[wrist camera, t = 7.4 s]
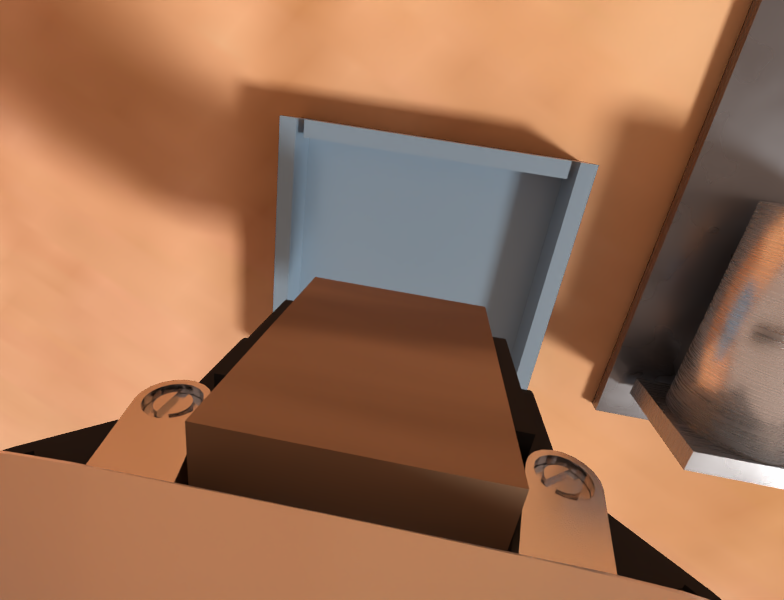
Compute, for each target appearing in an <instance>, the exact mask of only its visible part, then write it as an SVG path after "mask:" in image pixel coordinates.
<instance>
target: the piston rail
mask: <svg viewBox="0 0 784 600" xmlns="http://www.w3.org/2000/svg"><path fill="white" fill-rule="evenodd" d="M759 201H764V202H772V203H779V204H784V0H753V2H752V5H751V7H750V10H749V12H748V15H747V17H746V20H745V22H744V25H743V27H742V30H741V32H740V35H739V37H738V40H737V42H736V45H735V47H734V50H733V52H732V55H731V57H730V60H729V62H728V65H727V67H726V70H725V72H724V75H723V77H722V80H721V82H720V85H719V87H718V90H717V92H716V95H715V97H714V100H713V102H712V105H711V107H710V110H709V112H708V115H707V117H706V120H705V122H704V125H703V127H702V130H701V132H700V135H699V137H698V140H697V142H696V145H695V147H694V150H693V153H692V155H691V158H690V160H689V163H688V165H687V168H686V170H685V173H684V175H683V178H682V180H681V183H680V185H679V188H678V190H677V193H676V195H675V198H674V200H673V203H672V205H671V208H670V210H669V213H668V215H667V218H666V220H665V223H664V225H663V228H662V230H661V233H660V235H659V238H658V240H657V243H656V245H655V248H654V250H653V253H652V255H651V258H650V260H649V263H648V265H647V268H646V270H645V273H644V275H643V278H642V280H641V283H640V285H639V288H638V290H637V293H636V295H635V298H634V300H633V303H632V305H631V308H630V310H629V313H628V315H627V318H626V320H625V323H624V325H623V328H622V330H621V333H620V335H619V338H618V340H617V343H616V345H615V348H614V350H613V353H612V355H611V358H610V360H609V363H608V365H607V368H606V370H605V373H604V375H603V378H602V380H601V383H600V385H599V388H598V390H597V393H596V395H595V398H594V400H593V403H592V404H593V406H594V408H595V410H599V411H604V412H609V413H615V414H620V415H625V416H630V417H636V418H641V419H646V420H648V418H647V417H646V415H645V414H644V412H643V411H642V410H641V408H640V407H639V405H638V404H637V402H636V401H635V400H634V398H633V397H632V395H631V394H630V391H631V389H632V387H633V384H634V382H635V380H636V378H640V379H645V380H651V381H656V382H662V383H667V384H672V383H673V380H674V378H675V376H676V374H677V372H678V370H679V368H680V366H681V364H682V362H683V360H684V357H685V355H686V353H687V351H688V349H689V347H690V345H691V343H692V341H693V339H694V337H695V334H696V332H697V330H698V328H699V326H700V324H701V322H702V320H703V318H704V316H705V314H706V311H707V309H708V307H709V305H710V303H711V301H712V299H713V297H714V295H715V293H716V291H717V288H718V286H719V284H720V282H721V280H722V278H723V276H724V274H725V272H726V270H727V268H728V265H729V263H730V261H731V259H732V257H733V255H734V253H735V251H736V249H737V247H738V245H739V242H740V240H741V238H742V236H743V234H744V232H745V230H746V228H747V226H748V224H749V222H750V219H751V217H752V215H753V213H754V211H755V209H756V207H757V205H758V203H759Z"/></svg>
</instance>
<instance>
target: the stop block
mask: <svg viewBox="0 0 784 600" xmlns="http://www.w3.org/2000/svg"><path fill="white" fill-rule="evenodd" d="M185 433H186V450H187V468H188V485H189V486H194V487H199V488H204V489H209V490H214V491H219V492H224V493H229V494H234V495H239V496H244V497H248V498H253V499H258V500H263V501H268V502H273V503H278V504H283V505H288V506H292V507H297V508H302V509H307V510H312V511H317V512H322V513H327V514H331V515H336V516H341V517H346V518H351V519H356V520H360V521H365V522H370V523H375V524H380V525H385V526H389V527H394V528H399V529H404V530H409V531H413V532H418V533H423V534H428V535H433V536H437V537H442V538H447V539H452V540H457V541H461V542H466V543H471V544H476V545H480V546H485V547H490V548H494V549H499V550H504V551H507V550H508V547H509V545H510V542H511V539H512V536H513V533H514V531H515V528H516V525H517V522H518V520H519V517H520V514H521V511H522V508H523V506H524V503H525V500H526V497H527V495H528V492H529V486H528V482H527V478H526V474H525V469H524V465H523V461H522V457H521V453H520V449H519V445H518V440H517V436H516V432H515V428H514V424H513V420H512V416H511V411H510V407H509V403H508V399H507V395H506V391H505V387H504V383H503V378H502V374H501V370H500V366H499V362H498V358H497V354H496V349H495V345H494V341H493V337H492V333H491V329H490V325H489V321H488V316H487V312H486V308H485V307H484V306H478V305H472V304H467V303H461V302H455V301H450V300H444V299H438V298H433V297H427V296H421V295H416V294H410V293H404V292H399V291H393V290H387V289H382V288H376V287H370V286H365V285H359V284H353V283H348V282H342V281H336V280H331V279H325V278H319V277H315V278H314V279H313V280H312V281H311V282H310V283H309V284H308V285H307V287H306V288H305V289H304V290H303V291H302V292H301V293H300V294H299V295H298V296H297V298H296V299H295V300H294V301H293V302H292V303H291V304H290V305H289V306H288V308H287V309H286V310H285V311H284V312H283V313H282V314H281V315H280V316H279V317H278V319H277V320H276V321H275V322H274V323H273V324H272V325H271V326H270V327H269V329H268V330H267V331H266V332H265V333H264V334H263V335H262V336H261V337H260V338H259V340H258V341H257V342H256V343H255V344H254V345H253V346H252V347H251V348H250V350H249V351H248V352H247V353H246V354H245V355H244V356H243V357H242V358H241V359H240V361H239V362H238V363H237V364H236V365H235V366H234V367H233V368H232V369H231V371H230V372H229V373H228V374H227V375H226V376H225V377H224V378H223V379H222V380H221V382H220V383H219V384H218V385H217V386H216V387H215V388H214V389H213V390H212V392H211V393H210V394H209V395H208V396H207V397H206V398H205V399H204V400H203V401H202V403H201V404H200V405H199V406H198V407H197V408H196V409H195V410H194V411H193V413H192V414H191V415H190V416H189V417H188V418H187V419H186V420H185Z"/></svg>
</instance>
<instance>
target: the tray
mask: <svg viewBox="0 0 784 600" xmlns="http://www.w3.org/2000/svg"><path fill="white" fill-rule="evenodd" d="M598 166H599V165H595V164H591V163H586V162H581V161H576V160H569V159H563V158H556V157H550V156H543V155H537V154H531V153H524V152H518V151H511V150H505V149H499V148H492V147H486V146H479V145H473V144H467V143H460V142H454V141H447V140H441V139H435V138H428V137H422V136H415V135H409V134H403V133H396V132H390V131H383V130H377V129H371V128H364V127H358V126H351V125H345V124H339V123H332V122H326V121H319V120H313V119H307V118H300V117H291V116H281V115H280V124H279V152H278V180H277V209H276V237H275V266H274V294H273V312H274V311H275V310H276V309H277V308H278V307H279V306H280V305H281V304H282V303H283V302H284V301H285V300H286V299H287V300H292V301H294V300H295V299H296V298H297V296H298V295H299V294H300V293H301V292H302V291H303V290H304V289H305V288H306V287H307V285H308V284H309V283H310V282H311V281H312V280H313V279H314V278H315V277H319V278H325V279H331V280H336V281H342V282H348V283H353V284H359V285H365V286H370V287H376V288H382V289H387V290H393V291H399V292H404V293H410V294H416V295H421V296H427V297H433V298H438V299H444V300H450V301H455V302H461V303H467V304H472V305H478V306H484V307H485V308H486V312H487V316H488V321H489V325H490V329H491V333H492V337H498V338H504V339H506V341H507V344H508V348H509V351H510V354H511V357H512V360H513V364H514V367H515V370H516V373H517V377H518V380H519V383H520V386H521V389H525V390H527V388H528V385H529V382H530V379H531V375H532V372H533V369H534V366H535V363H536V360H537V357H538V354H539V350H540V347H541V344H542V341H543V338H544V335H545V332H546V329H547V326H548V322H549V319H550V316H551V313H552V310H553V307H554V304H555V301H556V297H557V294H558V291H559V288H560V285H561V282H562V279H563V276H564V272H565V269H566V266H567V263H568V260H569V257H570V254H571V251H572V248H573V244H574V241H575V238H576V235H577V232H578V229H579V226H580V223H581V219H582V216H583V213H584V210H585V207H586V204H587V201H588V198H589V194H590V191H591V188H592V185H593V182H594V179H595V176H596V173H597V170H598Z"/></svg>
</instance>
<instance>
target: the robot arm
mask: <svg viewBox="0 0 784 600" xmlns="http://www.w3.org/2000/svg"><path fill="white" fill-rule="evenodd" d="M292 302H293V301H292V300H287V299H286V300H285V301H284V302H283V303H282V304H281V305H280V306H279V307H278V308H277V309H276V310H275V311H274V312H273V313H272V314H271V315H270V316H269V317H268V318H267V319H266V320H265V321H264V322H263V323H262V324H261V325H260V326H259V327H258V328H257V329H256V330H255V331H254V332H253V333H252V334H251V335H250V337H249V338H243V339H242V340H241V341H240V342H239V343H238V344H237V345H236V346H235V347H234V348H233V349H232V350H231V351H230V352H229V353H228V354H227V355H226V356H225V357H224V358H223V359H222V360H221V361H220V362H219V363H218V364H217V365H216V366H215V367H214V368H213V369H212V370H211V371H210V372H209V373H208V374H207V375H206V376H205V377H204V378H203V379H202V380H201V381H200V382H196V381H190V380H172V381H167V382H162V383H159V384H156V385H153V386H150V387H149V388H147V389H145V390H144V391H142V392H141V393H140V394H138V395H137V396H136V397H135V398H134V400H133V401H132V402H131V404H130V405H129V407H128V408H127V409H126V411H125V412H124V413H123V415H122V416H121V417H120V419H119V420H115V421H111V422H107V423H103V424H100V425H96V426H92V427H88V428H84V429H80V430H77V431H73V432H69V433H65V434H61V435H58V436H54V437H50V438H46V439H42V440H38V441H35V442H31V443H27V444H23V445H19V446H15V447H12V448H9V449H6V450H3V451H0V600H721V599H720V598H719V597H718V596H716V595H715V594H714V593H713V592H712V591H710V590H709V589H708V588H706V587H705V586H704V585H702V584H701V583H700V582H698V581H697V580H696V579H694V578H693V577H692V576H691V575H689V574H688V573H687V572H685V571H684V570H683V569H681V568H680V567H679V566H677V565H676V564H675V563H673V562H672V561H671V560H669V559H668V558H667V557H665V556H664V555H663V554H661V553H660V552H659V551H657V550H656V549H655V548H653V547H652V546H651V545H649V544H648V543H647V542H645V541H644V540H643V539H641V538H640V537H639V536H637V535H636V534H635V533H633V532H632V531H631V530H629V529H628V528H627V527H625V526H624V525H623V524H621V523H620V522H619V521H617V520H616V519H615V518H613V517H612V516H611V515H609V514H608V513H607V508H606V501H605V495H604V490H603V487H602V484H601V481H600V480H599V479H598V477H597V476H596V475H595V473H594V472H593V471H592V470H591V469H590V468H588V467H587V466H586V465H585V464H584V463H582V462H580V461H579V460H577V459H576V458H574V457H572V456H570V455H567V454H565V453H562V452H558V451H554V450H553V449H552V446H551V443H550V440H549V437H548V434H547V432H546V429H545V426H544V423H543V420H542V417H541V415H540V412H539V409H538V406H537V403H536V400H535V398H534V395H533V393H532V391H530V390H525V389H521V386H520V383H519V380H518V377H517V373H516V370H515V367H514V364H513V360H512V357H511V354H510V351H509V348H508V344H507V341H506V339H504V338H498V337H493V341H494V345H495V349H496V354H497V358H498V362H499V366H500V370H501V374H502V378H503V383H504V387H505V391H506V395H507V399H508V403H509V407H510V411H511V416H512V420H513V424H514V428H515V432H516V436H517V440H518V445H519V449H520V453H521V457H522V461H523V465H524V469H525V474H526V478H527V482H528V486H529V492H528V495H527V497H526V500H525V503H524V506H523V508H522V511H521V514H520V517H519V520H518V522H517V525H516V528H515V531H514V533H513V536H512V539H511V542H510V545H509V547H508V550H507V551H504V550H499V549H494V548H490V547H485V546H480V545H476V544H471V543H466V542H461V541H457V540H452V539H447V538H442V537H437V536H433V535H428V534H423V533H418V532H413V531H409V530H404V529H399V528H394V527H389V526H385V525H380V524H375V523H370V522H365V521H360V520H356V519H351V518H346V517H341V516H336V515H331V514H327V513H322V512H317V511H312V510H307V509H302V508H297V507H292V506H288V505H283V504H278V503H273V502H268V501H263V500H258V499H253V498H248V497H244V496H239V495H234V494H229V493H224V492H219V491H214V490H209V489H204V488H199V487H194V486H189V485H188V468H187V450H186V433H185V420H186V419H187V418H188V417H189V416H190V415H191V414H192V413H193V411H194V410H195V409H196V408H197V407H198V406H199V405H200V404H201V403H202V401H203V400H204V399H205V398H206V397H207V396H208V395H209V394H210V393H211V392H212V390H213V389H214V388H215V387H216V386H217V385H218V384H219V383H220V382H221V380H222V379H223V378H224V377H225V376H226V375H227V374H228V373H229V372H230V371H231V369H232V368H233V367H234V366H235V365H236V364H237V363H238V362H239V361H240V359H241V358H242V357H243V356H244V355H245V354H246V353H247V352H248V351H249V350H250V348H251V347H252V346H253V345H254V344H255V343H256V342H257V341H258V340H259V338H260V337H261V336H262V335H263V334H264V333H265V332H266V331H267V330H268V329H269V327H270V326H271V325H272V324H273V323H274V322H275V321H276V320H277V319H278V317H279V316H280V315H281V314H282V313H283V312H284V311H285V310H286V309H287V308H288V306H289V305H290V304H291V303H292Z"/></svg>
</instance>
